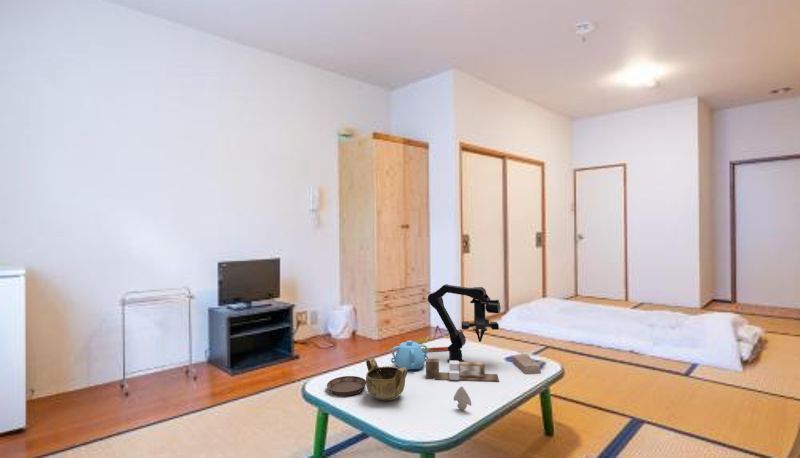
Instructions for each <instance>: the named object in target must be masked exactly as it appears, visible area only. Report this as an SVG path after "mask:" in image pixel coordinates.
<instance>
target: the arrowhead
mask: <svg viewBox="0 0 800 458" xmlns="http://www.w3.org/2000/svg"><path fill="white" fill-rule="evenodd" d="M453 401H454V402H455V401H457V403H458V404H457V405H456V407H457V408H458V409H460V410H461V411H465V410H466V409H467V406H470V407H471V406H472V401H471V397H470V396H469V394H468V392H467V391H466V389H465V388H464V386H462V385H460V387H459V388H458V389H457V391H456V392H455V394H454V395H453Z"/></svg>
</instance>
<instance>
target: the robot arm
mask: <svg viewBox="0 0 800 458" xmlns="http://www.w3.org/2000/svg"><path fill="white" fill-rule="evenodd" d="M447 293H448V294H455V295H462V296H466V297H469V298H470V299H471V301H470V302H469V303H470V304H473V322H474V323H473V322H470V321H468V320H467V321H466V320H462V322H461V329H462V330H460V331H459V330H458V329H457V327H456V325H455V324H454V321H453V320H452V317H450V314H449V313H448V311H447V309H446V307H445V305H444V298H443V297H444V296H445V295H446V294H447ZM427 296H428V297H427V301H428V303H429V304H430V306H431V307H433V309H435V311H436V312H437V314H438V315H439V318H440V319H441V321H442V324H443V325H444V326H445V328H446V330H447V332H448V334H449V335H450V337H449V341H450V343H451V344H450V345H449V346H447V347H448V351H447V352H448V353H449V354H448V355H449V357H448V358H449V359H447V362H449V363H450V361H459V362H465V360H464V359H463V353H462V351H463V350H461V349H462V348H463V346H464V345H466V341H467V340H466V338H467V337H466V336H465V335H464V332H463V330H469V329H470V328H472V331H474V332H475V334H476V335H477V339H478V342H479V343H481V342H482V339H483V336H484V334H485V332H487V331H488V328H491V330H492V331H494V330H499V328H500V327H499V323H498V322H497V321H490V319H486V312H487V313H489V314H500V313H501V306H502V305H501V303H500V300H499V299H491V298H490V297H489V295H488V293H487V290H486V289H485V288H484V287H482V286H474V287H465V286H457V285H451V284H447V283H445V284H443V285H442V286H441V287H440V288H439V289H437V290H436V291H433V292H431V293H429V294H428V295H427Z"/></svg>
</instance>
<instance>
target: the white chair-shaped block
mask: <svg viewBox="0 0 800 458" xmlns="http://www.w3.org/2000/svg"><path fill="white" fill-rule="evenodd" d="M448 365H449V372H448V373H449V377H450V380H449V381H451V380H459V361H450V362H449V364H448Z"/></svg>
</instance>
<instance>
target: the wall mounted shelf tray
mask: <svg viewBox="0 0 800 458" xmlns="http://www.w3.org/2000/svg"><path fill="white" fill-rule="evenodd" d="M485 366H486V365H485V362H483V361H482V362H478V361H475V362H473V361H463V362H459V376H460V377H485V374H486V372H485V368H486V367H485Z"/></svg>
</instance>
